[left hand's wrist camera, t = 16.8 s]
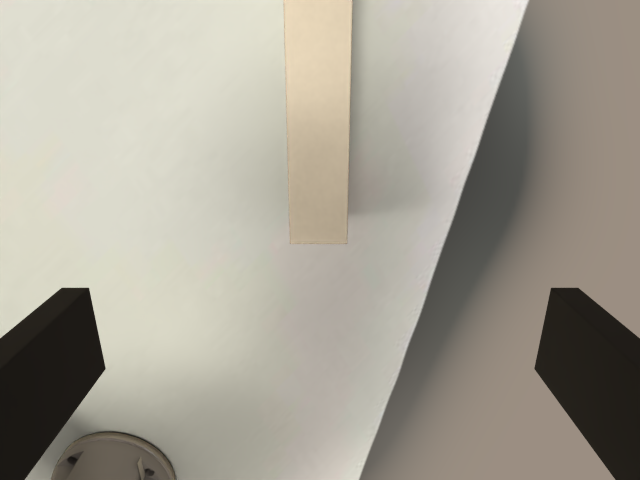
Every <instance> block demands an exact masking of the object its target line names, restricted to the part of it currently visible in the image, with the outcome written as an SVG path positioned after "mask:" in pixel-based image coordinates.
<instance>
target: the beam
mask: <svg viewBox="0 0 640 480" xmlns="http://www.w3.org/2000/svg"><path fill="white" fill-rule="evenodd" d="M352 3H353V0H284V34H285V72H286V111H287V149H288V188H289V226H290V244H347V222H348V178H349V135H350V91H351V47H352Z"/></svg>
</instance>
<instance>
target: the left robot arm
mask: <svg viewBox="0 0 640 480" xmlns="http://www.w3.org/2000/svg"><path fill="white" fill-rule="evenodd" d="M104 370H105V364H104V359H103V354H102V349H101V345H100V340H99V335H98V330H97V325H96V320H95V315H94V311H93V306H92V301H91V296H90V291H89V288H61V289H60V290H59V291H57V292H56V293H55V294H54V295H53V296H51V297H50V298H49V299H48V300H47V301H45V302H44V303H43V304H42V305H40V306H39V307H38V308H37V309H36V310H34V311H33V312H32V313H31V314H30V315H28V316H27V317H26V318H25V319H23V320H22V321H21V322H20V323H19V324H17V325H16V326H15V327H14V328H13V329H11V330H10V331H9V332H8V333H6V334H5V335H4V336H3V337H2V338H0V480H25V478H26V477H27V476H28V474H29V473H30V471H31V470H32V469H33V467H34V466H35V465H36V463H37V462H38V460H39V459H40V458H41V456H42V455H43V454H44V452H45V451H46V450H47V448H48V447H49V445H50V444H51V443H52V441H53V440H54V439H55V437H56V436H57V434H58V433H59V432H60V430H61V429H62V428H63V426H64V425H65V424H66V422H67V421H68V419H69V418H70V417H71V415H72V414H73V413H74V411H75V410H76V408H77V407H78V406H79V404H80V403H81V402H82V400H83V399H84V398H85V396H86V395H87V393H88V392H89V391H90V389H91V388H92V387H93V385H94V384H95V383H96V381H97V380H98V378H99V377H100V376H101V374H102V373H103V372H104ZM535 370H536V372H537V373H538V374H539V376H540V377H541V378H542V380H543V381H544V383H545V384H546V385H547V387H548V388H549V389H550V391H551V392H552V393H553V395H554V396H555V397H556V399H557V400H558V402H559V403H560V404H561V406H562V407H563V408H564V410H565V411H566V412H567V414H568V415H569V417H570V418H571V419H572V421H573V422H574V424H575V425H576V426H577V428H578V429H579V430H580V432H581V433H582V434H583V436H584V437H585V439H586V440H587V441H588V443H589V444H590V445H591V447H592V448H593V449H594V451H595V452H596V454H597V455H598V456H599V458H600V459H601V460H602V462H603V463H604V464H605V466H606V467H607V468H608V470H609V471H610V473H611V474H612V476H613V477H614V478H615V480H640V338H638V337H637V336H636V335H635V334H633V333H632V332H631V331H630V330H629V329H627V328H626V327H625V326H624V325H622V324H621V323H620V322H619V321H618V320H616V319H615V318H614V317H613V316H612V315H610V314H609V313H608V312H607V311H606V310H604V309H603V308H602V307H601V306H600V305H598V304H597V303H596V302H595V301H593V300H592V299H591V298H590V297H589V296H587V295H586V294H585V293H584V292H583V291H581V290H580V289H579V288H551V291H550V296H549V301H548V306H547V311H546V315H545V320H544V325H543V330H542V335H541V340H540V345H539V349H538V354H537V359H536V364H535ZM51 480H175V475H174V472H173V469H172V467H171V465H170V463H169V461H168V460H167V459H166V457H165V456H164V455H163V454H162V453H161V452H160V451H159V450H158V449H156V448H155V447H154V446H152V445H151V444H149V443H147V442H145V441H143V440H141V439H139V438H136V437H133V436H130V435H126V434H121V433H111V432H105V433H96V434H91V435H88V436H85V437H82V438H80V439H78V440H76V441H75V442H73V443H72V444H71V445H70V446H69V447H68V448H67V449H66V450H65V452H64V453H63V455H62V456H61V458H60V459H59V461H58V463H57V465H56V467H55V469H54V471H53V474H52V478H51Z"/></svg>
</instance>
